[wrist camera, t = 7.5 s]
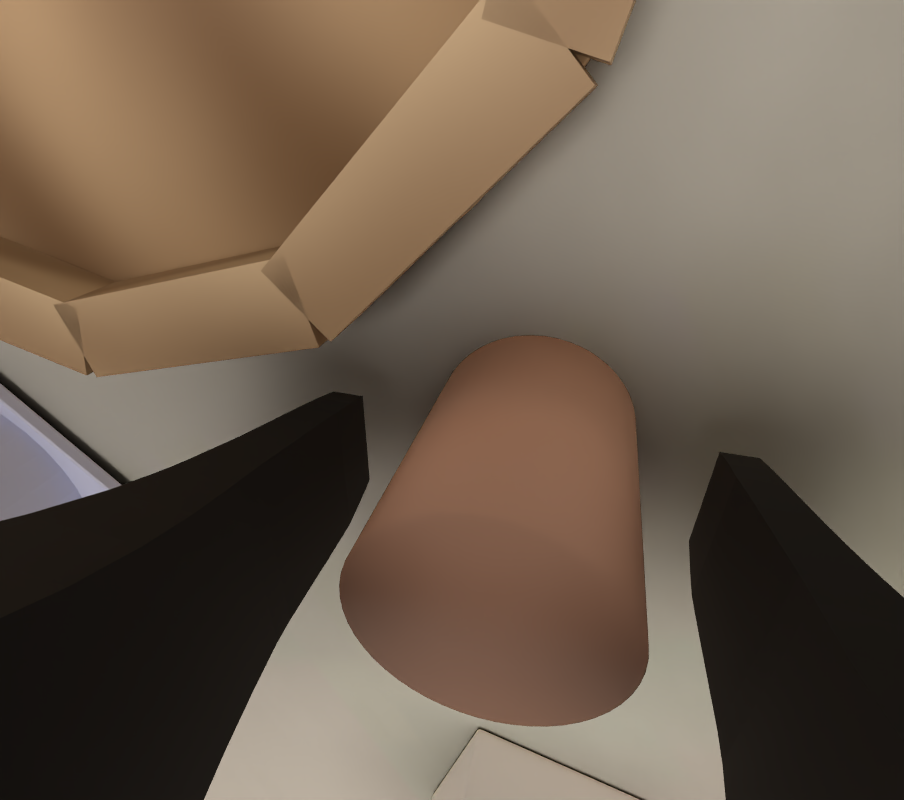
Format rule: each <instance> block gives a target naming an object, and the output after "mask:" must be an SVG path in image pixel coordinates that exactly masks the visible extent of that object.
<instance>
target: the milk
mask: <svg viewBox="0 0 904 800" xmlns="http://www.w3.org/2000/svg"><path fill="white" fill-rule="evenodd" d="M431 800H640V799H637V798H635V797H633V796H630V795H628V794H626V793H624V792H621V791H619V790H617V789H615V788H612V787H610V786H608V785H606V784H603V783H601V782H599V781H597V780H594V779H592V778H590V777H588V776H585V775H583V774H581V773H579V772H576V771H574V770H572V769H570V768H567V767H565V766H563V765H560V764H558V763H556V762H554V761H551V760H549V759H547V758H545V757H542V756H540V755H538V754H536V753H533V752H531V751H529V750H527V749H524V748H522V747H520V746H518V745H515V744H513V743H511V742H509V741H506V740H504V739H502V738H499V737H497V736H495V735H493V734H490V733H488V732H486V731H484V730H481V729H479V730H477V732H476V733H475V735H474V736H473V737H472V739H471V740H470V742H469V743H468V745H467V746H466V748H465V749H464V751H463V752H462V753H461V755H460V756H459V758H458V759H457V761H456V762H455V764H454V765H453V767H452V768H451V769H450V771H449V772H448V774H447V775H446V777H445V778H444V780H443V781H442V783H441V784H440V785H439V787H438V788H437V790H436V791H435V793H434V794H433V796H432V799H431Z"/></svg>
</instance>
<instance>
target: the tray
mask: <svg viewBox="0 0 904 800" xmlns="http://www.w3.org/2000/svg"><path fill="white" fill-rule="evenodd" d="M635 2H636V0H0V340H2V341H4V342H6V343H9V344H11V345H14V346H16V347H19V348H21V349H24V350H26V351H28V352H31V353H33V354H36V355H38V356H41V357H43V358H46V359H48V360H50V361H53V362H55V363H58V364H60V365H63V366H65V367H67V368H70V369H72V370H75V371H77V372H80V373H82V374H85V375H88V374H90V373H92V372H94V373H95V375H96V377H101V376H108V375H116V374H123V373H131V372H138V371H146V370H153V369H161V368H168V367H176V366H183V365H191V364H198V363H206V362H213V361H221V360H229V359H236V358H244V357H251V356H259V355H266V354H274V353H281V352H289V351H296V350H304V349H311V348H319V347H320V346H321V345H322V344H323V343H324V342H326V341H327V340H329V341H330V342H331V341H332V340H333V339H334V338H335V337H337V336H338V335H339V334H340V333H341V332H342V331H343V330H344V329H345V328H347V327H348V326H349V325H350V324H351V323H352V322H353V321H354V320H355V319H357V318H358V317H359V316H360V315H361V314H362V313H363V312H364V311H365V310H366V309H367V308H368V307H369V306H370V305H371V304H372V303H373V302H374V301H375V300H376V299H377V298H379V297H380V296H381V295H382V294H383V293H384V292H385V291H386V290H387V289H388V288H389V287H390V286H391V285H392V284H393V283H394V282H395V281H396V280H397V279H398V278H399V277H400V276H401V275H402V274H403V273H404V272H405V271H406V270H408V269H409V268H410V267H411V266H412V265H413V264H414V263H415V262H416V261H417V260H418V259H419V258H420V257H421V256H422V255H423V254H424V253H425V252H426V251H427V250H428V249H429V248H430V247H431V246H432V245H433V244H434V243H435V242H437V241H438V240H439V239H440V238H441V237H442V236H443V235H444V234H445V233H446V232H447V231H448V230H449V229H450V228H451V227H452V226H453V225H454V224H455V223H456V222H457V221H458V220H459V219H460V218H462V217H463V216H464V215H465V214H466V213H467V212H468V211H470V210H471V209H472V208H473V207H474V206H475V205H476V204H477V203H478V202H479V201H480V200H481V199H482V198H483V196H484V195H485V194H486V193H487V192H488V191H489V190H490V189H491V188H492V187H493V186H495V185H496V184H497V183H498V182H499V181H500V180H501V179H502V178H503V177H504V176H505V175H506V174H507V173H508V172H509V171H510V170H511V169H512V168H513V167H514V166H515V165H516V164H517V163H518V162H519V161H520V160H521V159H523V158H524V157H525V156H526V155H527V154H528V153H529V152H530V151H531V150H532V149H533V148H534V147H535V146H536V145H537V144H538V143H539V142H540V141H541V140H542V139H543V138H544V137H545V136H546V135H547V134H548V133H549V132H550V131H552V130H553V129H554V128H555V127H556V126H557V125H558V124H559V123H560V122H561V121H562V120H563V119H564V118H565V117H566V116H567V115H568V114H569V113H570V112H571V111H572V110H573V109H574V108H575V107H576V106H577V105H578V104H579V103H581V102H582V101H583V100H584V99H585V98H586V97H587V96H588V95H589V94H590V93H591V92H592V91H593V90H594V89H595V88H596V87H597V86H598V85H597V83H596V82H595V81H594V79H593V78H592V76H591V75H590V74H589V72H588V71H587V70H586V68H585V67H586V65H587V64H588V62H589V60H590V59H593V60H596V61H599V62H602V63H605V64H608V65H612V62H613V60H614V57H615V54H616V52H617V49H618V46H619V44H620V41H621V38H622V36H623V33H624V31H625V28H626V25H627V23H628V20H629V17H630V15H631V12H632V10H633V7H634V4H635Z"/></svg>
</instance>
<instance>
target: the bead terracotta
mask: <svg viewBox="0 0 904 800" xmlns="http://www.w3.org/2000/svg"><path fill="white" fill-rule="evenodd" d="M339 588H340V600H341V604H342V608H343V612H344V614H345V617H346V619H347V622H348V624H349V626H350V627H351V629H352V631H353V633H354V635H355V636H356V637H357V639H358V640H359V642H360V643H361V644H362V646H363V647H364V648H365V649H366V651H367V652H368V653H369V654H370V655H371V656H372V657H373V658H374V659H375V660H376V661H377V662H378V663H379V664H380V665H381V666H382V667H383V668H384V669H385V670H387V671H388V672H389V673H390V674H392V675H393V676H394V677H395V678H397V679H398V680H399V681H401V682H402V683H404V684H405V685H407V686H408V687H410V688H411V689H413V690H415V691H416V692H418V693H420V694H422V695H423V696H425V697H427V698H429V699H431V700H433V701H435V702H437V703H439V704H442V705H444V706H446V707H449V708H451V709H454V710H456V711H459V712H462V713H465V714H468V715H471V716H474V717H478V718H482V719H486V720H490V721H494V722H500V723H506V724H511V725H522V726H559V725H567V724H573V723H579V722H583V721H586V720H590V719H593V718H596V717H598V716H601V715H603V714H605V713H608V712H610V711H611V710H613V709H614V708H616V707H618V706H619V705H621V704H622V703H623V702H624V701H625V700H627V699H628V698H629V697H630V696H631V695H632V694H633V693H634V691H635V690H636V689H637V687H638V686H639V685H640V683H641V681H642V679H643V677H644V675H645V672H646V668H647V664H648V659H649V644H648V627H647V609H646V591H645V574H644V556H643V539H642V521H641V504H640V486H639V469H638V451H637V433H636V417H635V412H634V406H633V403H632V401H631V398H630V395H629V393H628V391H627V389H626V387H625V385H624V384H623V382H622V381H621V380H620V378H619V377H618V376H617V374H616V373H615V372H614V371H613V370H612V369H611V368H610V367H609V366H608V365H607V364H606V363H605V362H604V361H602V360H601V359H600V358H599V357H597V356H596V355H594V354H593V353H591V352H589V351H588V350H586V349H584V348H582V347H580V346H578V345H575V344H573V343H571V342H567V341H564V340H561V339H558V338H552V337H547V336H535V335H525V336H514V337H508V338H503V339H500V340H497V341H494V342H491V343H489V344H487V345H485V346H482V347H480V348H479V349H477V350H476V351H474V352H473V353H471V354H470V355H468V356H467V357H466V358H465V359H464V360H463V361H462V362H461V363H460V364H459V365H458V366H457V367H456V369H455V370H454V371H453V373H452V374H451V376H450V378H449V379H448V381H447V383H446V385H445V386H444V388H443V390H442V392H441V393H440V395H439V397H438V399H437V400H436V402H435V404H434V406H433V407H432V409H431V411H430V413H429V415H428V416H427V418H426V420H425V422H424V423H423V425H422V427H421V429H420V430H419V432H418V434H417V436H416V437H415V439H414V441H413V443H412V444H411V446H410V448H409V450H408V451H407V453H406V455H405V457H404V458H403V460H402V462H401V464H400V465H399V467H398V469H397V471H396V472H395V474H394V476H393V478H392V479H391V481H390V483H389V485H388V486H387V488H386V490H385V492H384V494H383V495H382V497H381V499H380V501H379V502H378V504H377V506H376V508H375V509H374V511H373V513H372V515H371V516H370V518H369V520H368V522H367V523H366V525H365V527H364V529H363V530H362V532H361V534H360V536H359V537H358V539H357V541H356V543H355V544H354V546H353V548H352V550H351V551H350V553H349V555H348V557H347V558H346V560H345V563H344V566H343V568H342V571H341V576H340V584H339Z"/></svg>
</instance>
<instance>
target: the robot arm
mask: <svg viewBox="0 0 904 800" xmlns="http://www.w3.org/2000/svg"><path fill="white" fill-rule="evenodd" d="M368 482H369V468H368V455H367V443H366V431H365V419H364V407H363V396H358V395H351V394H345V393H338V392H332V393H329V394H327V395H324V396H322V397H319V398H317V399H315V400H313V401H311V402H309V403H307V404H305V405H302V406H300V407H298V408H296V409H294V410H292V411H290V412H288V413H286V414H284V415H282V416H280V417H278V418H276V419H274V420H272V421H270V422H268V423H266V424H264V425H262V426H260V427H258V428H256V429H254V430H252V431H250V432H248V433H246V434H244V435H242V436H240V437H237V438H235V439H233V440H231V441H229V442H226V443H224V444H222V445H220V446H217V447H215V448H213V449H211V450H208V451H206V452H204V453H202V454H200V455H197V456H195V457H193V458H191V459H188V460H186V461H184V462H181V463H179V464H177V465H174V466H172V467H169V468H167V469H164V470H162V471H159V472H156V473H154V474H151V475H148V476H146V477H143V478H140V479H137V480H135V481H132V482H129V483H126V484H124V485H121V484H120V483H119V482H118V481H116V480H115V479H114V478H113V477H112V476H110V475H109V474H108V473H107V472H106V471H104V470H103V469H102V468H101V467H100V466H98V465H97V464H96V463H95V462H94V461H92V460H91V459H90V458H89V457H88V456H86V455H85V454H84V453H83V452H82V451H80V450H79V449H78V448H77V447H76V446H74V445H73V444H72V443H71V442H70V441H69V440H67V439H66V438H65V437H64V436H63V435H61V434H60V433H59V432H58V431H57V430H55V429H54V428H53V427H52V426H51V425H49V424H48V423H47V422H46V421H45V420H43V419H42V418H41V417H40V416H39V415H37V414H36V413H35V412H34V411H33V410H31V409H30V408H29V407H28V406H27V405H25V404H24V403H23V402H22V401H21V400H20V399H18V398H17V397H16V396H15V395H14V394H12V393H11V392H10V391H9V390H8V389H6V388H5V387H4V386H3V385H2V384H0V800H204V798H205V796H206V793H207V791H208V789H209V786H210V784H211V782H212V780H213V777H214V775H215V773H216V770H217V768H218V766H219V764H220V761H221V759H222V757H223V754H224V752H225V750H226V748H227V746H228V743H229V741H230V739H231V737H232V735H233V733H234V731H235V728H236V726H237V724H238V722H239V720H240V718H241V716H242V713H243V711H244V709H245V707H246V705H247V703H248V701H249V698H250V696H251V694H252V692H253V690H254V688H255V686H256V684H257V682H258V680H259V678H260V676H261V674H262V672H263V670H264V668H265V666H266V664H267V662H268V660H269V658H270V656H271V654H272V652H273V650H274V648H275V646H276V644H277V642H278V640H279V638H280V637H281V635H282V633H283V631H284V630H285V628H286V626H287V624H288V623H289V621H290V619H291V618H292V616H293V614H294V613H295V611H296V610H297V608H298V606H299V605H300V603H301V602H302V600H303V598H304V597H305V595H306V594H307V592H308V590H309V589H310V587H311V586H312V584H313V582H314V581H315V579H316V578H317V576H318V574H319V573H320V571H321V570H322V568H323V567H324V565H325V563H326V562H327V560H328V559H329V557H330V555H331V554H332V552H333V550H334V549H335V547H336V546H337V544H338V542H339V541H340V539H341V537H342V536H343V534H344V533H345V531H346V529H347V528H348V526H349V524H350V522H351V520H352V518H353V516H354V514H355V512H356V510H357V507H358V505H359V503H360V501H361V498H362V496H363V494H364V491H365V489H366V487H367V484H368ZM689 551H690V574H691V589H692V599H693V604H694V610H695V615H696V621H697V626H698V632H699V637H700V642H701V647H702V653H703V658H704V663H705V668H706V673H707V678H708V684H709V689H710V694H711V699H712V704H713V710H714V715H715V720H716V725H717V730H718V737H719V743H720V750H721V757H722V764H723V774H724V785H725V796H726V800H904V597H902V596H901V595H900V594H899V593H898V592H897V591H896V590H895V589H893V588H892V587H891V586H890V585H889V584H888V583H887V582H886V581H884V580H883V579H882V578H881V577H880V576H879V575H878V574H877V573H876V572H875V571H874V570H873V569H872V568H870V567H869V566H868V565H867V564H866V563H865V562H864V561H863V560H862V559H861V558H860V557H859V556H858V555H857V554H856V553H855V552H854V551H853V550H852V549H850V548H849V547H848V546H847V545H846V544H845V543H844V542H843V541H842V540H841V539H840V538H839V537H838V536H837V535H836V534H835V533H834V532H833V531H832V530H831V529H830V528H829V527H828V526H827V525H826V524H825V523H824V522H823V521H822V520H821V519H820V518H819V517H818V516H817V515H816V514H815V513H814V512H813V511H812V510H811V509H810V508H809V507H808V506H807V505H806V504H805V503H804V502H803V501H802V500H801V499H800V497H799V496H798V495H797V494H796V493H795V492H794V491H793V490H792V489H791V488H790V487H789V486H788V485H787V484H786V483H785V482H784V481H783V480H782V479H781V478H780V477H779V476H778V475H777V474H776V473H775V472H774V471H773V470H772V469H771V468H770V467H769V466H768V465H767V464H766V463H764V462H763V461H762V460H761V459H760V458H754V457H748V456H742V455H735V454H729V453H722V452H720V453H719V456H718V459H717V462H716V465H715V467H714V470H713V473H712V476H711V479H710V482H709V485H708V488H707V491H706V493H705V496H704V499H703V502H702V505H701V508H700V511H699V514H698V517H697V519H696V522H695V525H694V528H693V531H692V534H691V537H690V540H689Z"/></svg>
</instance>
